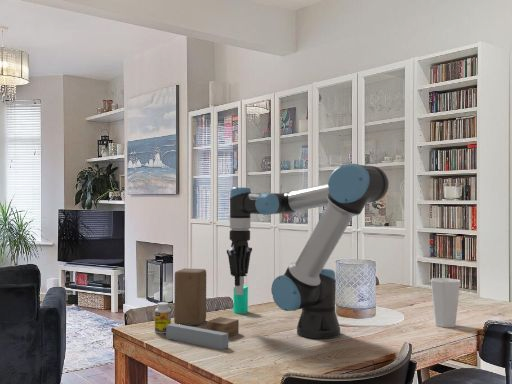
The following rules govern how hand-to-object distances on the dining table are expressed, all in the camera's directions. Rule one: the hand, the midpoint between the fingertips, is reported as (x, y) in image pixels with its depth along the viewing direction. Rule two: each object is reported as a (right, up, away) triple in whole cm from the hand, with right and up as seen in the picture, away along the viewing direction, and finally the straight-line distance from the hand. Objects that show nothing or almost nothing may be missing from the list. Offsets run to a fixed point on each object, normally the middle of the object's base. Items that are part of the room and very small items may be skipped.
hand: (239, 294), depth 199 cm
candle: (0, -13, +29) cm, 32 cm away
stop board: (-13, -12, -20) cm, 27 cm away
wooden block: (-19, -13, +9) cm, 24 cm away
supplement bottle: (-27, -13, -6) cm, 30 cm away
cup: (+77, -13, +6) cm, 79 cm away
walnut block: (-5, -13, -9) cm, 16 cm away
